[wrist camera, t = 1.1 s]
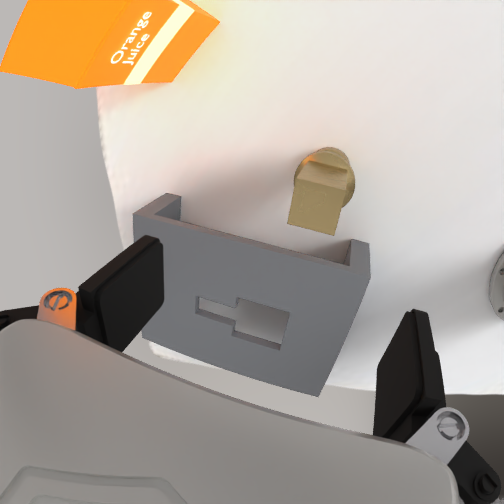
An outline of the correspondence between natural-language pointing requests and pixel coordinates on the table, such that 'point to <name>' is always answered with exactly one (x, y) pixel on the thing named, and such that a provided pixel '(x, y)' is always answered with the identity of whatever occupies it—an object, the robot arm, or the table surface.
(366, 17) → the table surface
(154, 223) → the keyhole board
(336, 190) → the brass peg
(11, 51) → the orange juice
